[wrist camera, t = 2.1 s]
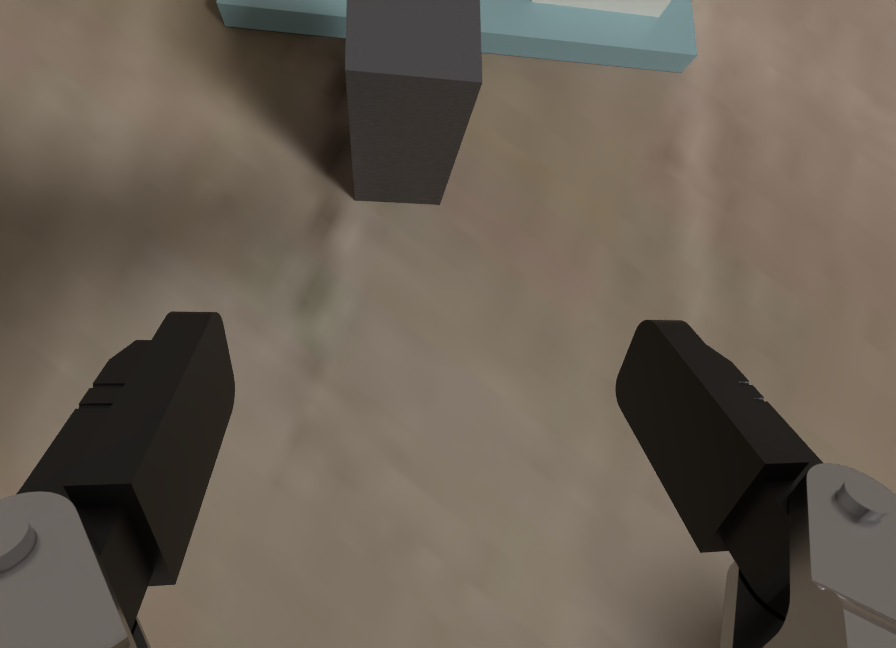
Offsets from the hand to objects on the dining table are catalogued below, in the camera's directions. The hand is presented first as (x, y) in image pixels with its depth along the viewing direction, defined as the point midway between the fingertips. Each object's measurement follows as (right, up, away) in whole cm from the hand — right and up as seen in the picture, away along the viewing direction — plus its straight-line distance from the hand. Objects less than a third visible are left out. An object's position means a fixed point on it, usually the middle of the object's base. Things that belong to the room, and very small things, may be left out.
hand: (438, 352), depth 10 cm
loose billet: (-2, +9, +16) cm, 19 cm away
